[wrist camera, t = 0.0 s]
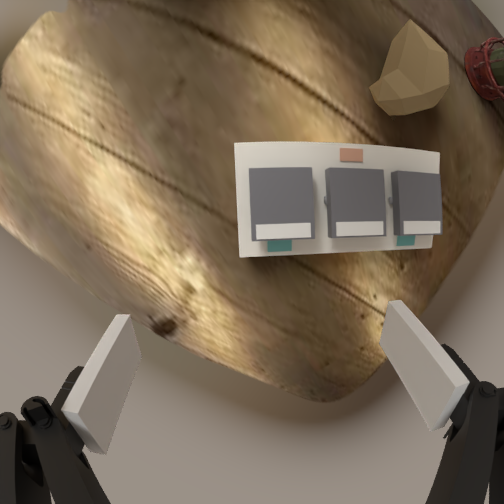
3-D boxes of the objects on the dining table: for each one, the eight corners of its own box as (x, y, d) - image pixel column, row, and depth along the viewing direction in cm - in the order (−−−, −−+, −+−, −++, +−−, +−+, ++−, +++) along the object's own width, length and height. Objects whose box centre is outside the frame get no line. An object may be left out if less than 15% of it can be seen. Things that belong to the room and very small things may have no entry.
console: (235, 143, 37) (234, 142, 31) (421, 150, 38) (443, 153, 32) (239, 246, 42) (239, 262, 36) (414, 239, 43) (434, 251, 37)
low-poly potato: (412, 38, 32) (368, 8, 26) (472, 56, 24) (438, 18, 19) (390, 117, 40) (343, 102, 35) (445, 145, 33) (407, 130, 27)
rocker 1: (248, 170, 33) (248, 168, 31) (308, 169, 33) (312, 167, 32) (251, 240, 34) (252, 241, 32) (311, 237, 34) (315, 239, 32)
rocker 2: (390, 172, 34) (397, 170, 32) (432, 175, 34) (440, 174, 32) (393, 235, 35) (400, 236, 33) (434, 233, 35) (443, 234, 33)
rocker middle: (324, 169, 33) (329, 167, 32) (377, 171, 34) (384, 169, 32) (327, 237, 34) (332, 238, 32) (380, 235, 35) (387, 236, 33)
